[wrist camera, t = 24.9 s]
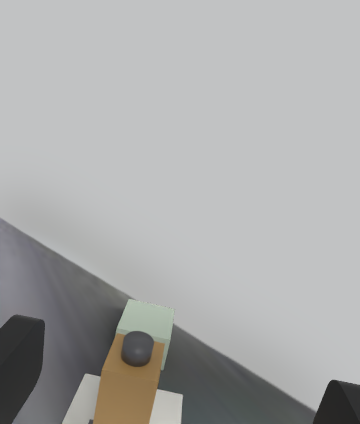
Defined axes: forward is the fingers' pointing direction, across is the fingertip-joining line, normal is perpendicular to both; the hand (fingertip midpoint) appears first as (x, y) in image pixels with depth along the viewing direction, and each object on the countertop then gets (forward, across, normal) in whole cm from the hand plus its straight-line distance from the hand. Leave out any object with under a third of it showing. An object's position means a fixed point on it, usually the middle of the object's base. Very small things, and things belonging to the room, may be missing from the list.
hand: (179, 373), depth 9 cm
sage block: (+30, +3, +25) cm, 39 cm away
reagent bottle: (+15, +3, +24) cm, 29 cm away
